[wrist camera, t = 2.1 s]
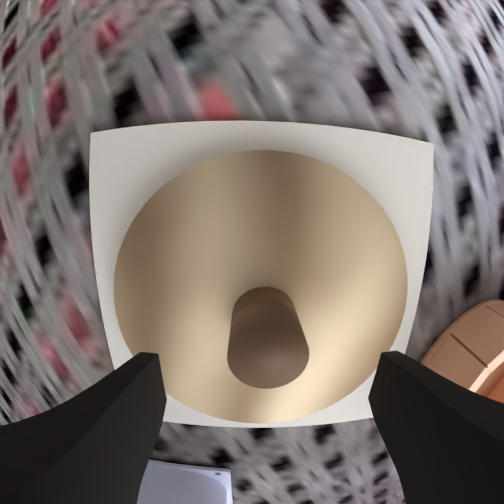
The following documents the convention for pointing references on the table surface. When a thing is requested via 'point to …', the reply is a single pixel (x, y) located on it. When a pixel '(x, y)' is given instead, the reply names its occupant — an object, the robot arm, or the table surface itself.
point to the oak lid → (261, 285)
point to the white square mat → (250, 139)
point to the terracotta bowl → (473, 350)
